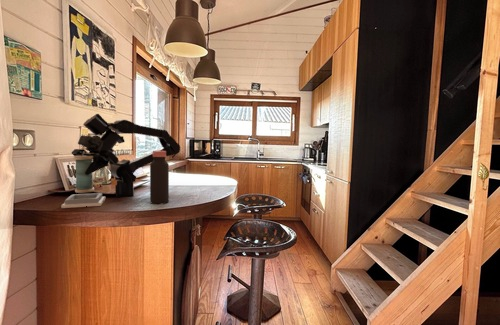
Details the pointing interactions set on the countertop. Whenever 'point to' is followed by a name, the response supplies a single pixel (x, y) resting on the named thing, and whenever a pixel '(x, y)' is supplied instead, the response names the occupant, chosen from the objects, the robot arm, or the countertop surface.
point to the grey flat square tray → (84, 200)
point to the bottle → (159, 178)
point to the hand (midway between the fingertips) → (80, 173)
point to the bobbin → (83, 174)
